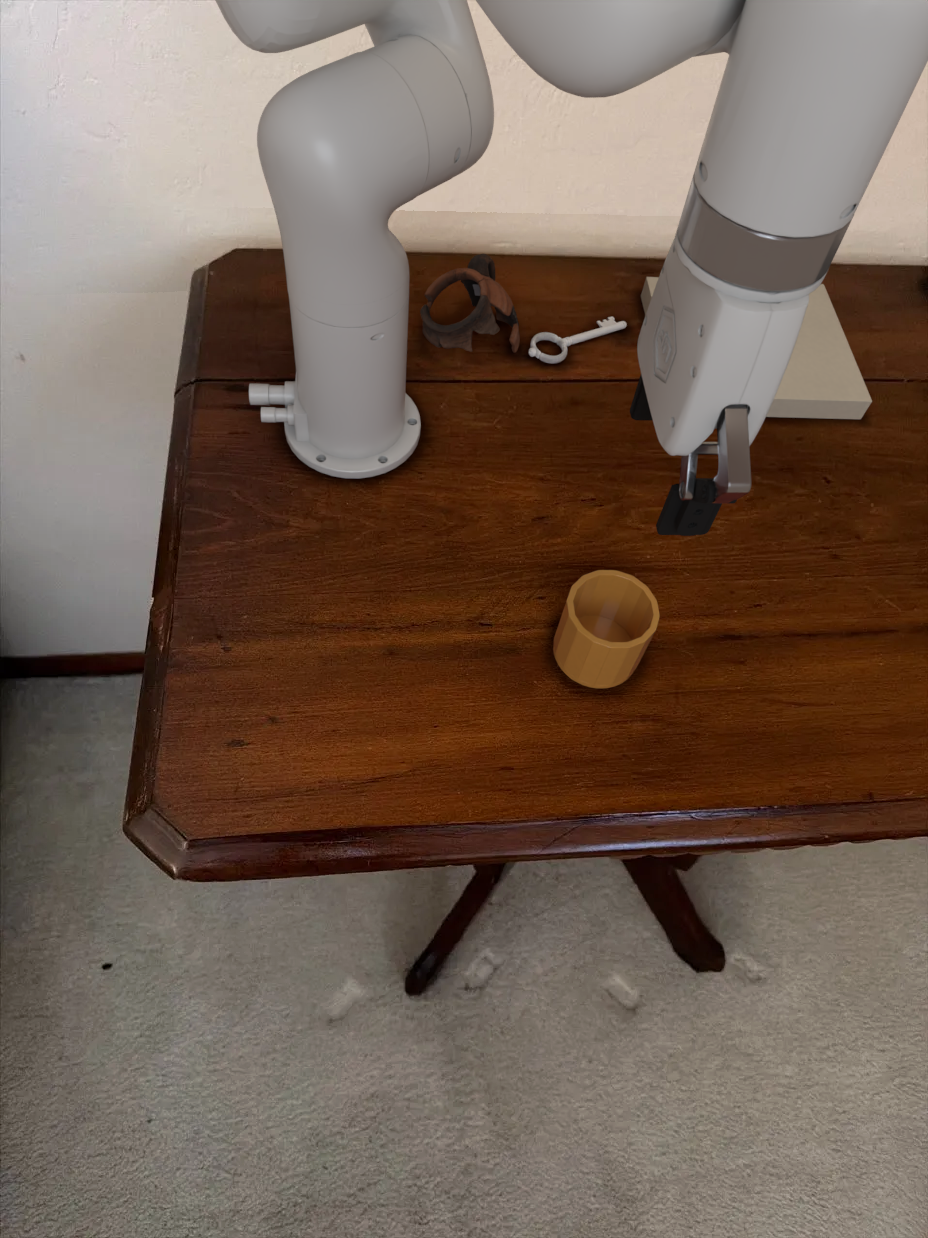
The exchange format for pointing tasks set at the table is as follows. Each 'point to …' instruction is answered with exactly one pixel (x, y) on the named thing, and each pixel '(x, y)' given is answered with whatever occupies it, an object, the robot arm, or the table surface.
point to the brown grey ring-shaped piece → (482, 297)
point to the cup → (605, 628)
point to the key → (572, 339)
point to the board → (814, 366)
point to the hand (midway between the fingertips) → (665, 471)
